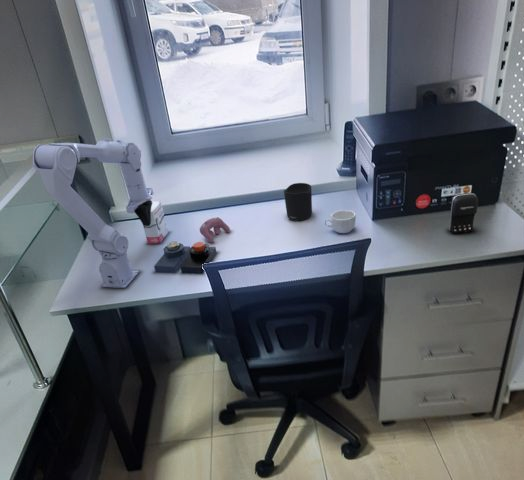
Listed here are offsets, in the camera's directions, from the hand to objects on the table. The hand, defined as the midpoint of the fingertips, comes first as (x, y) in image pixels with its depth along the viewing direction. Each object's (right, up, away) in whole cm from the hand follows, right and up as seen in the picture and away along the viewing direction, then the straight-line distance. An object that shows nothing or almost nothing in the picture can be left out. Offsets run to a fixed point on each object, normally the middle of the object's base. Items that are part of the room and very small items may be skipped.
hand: (147, 224), depth 160 cm
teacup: (+63, -1, +3) cm, 63 cm away
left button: (+9, -8, -1) cm, 12 cm away
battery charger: (+98, -4, -8) cm, 98 cm away
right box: (+17, -13, -2) cm, 21 cm away
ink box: (0, -1, +16) cm, 16 cm away
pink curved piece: (+21, -1, +11) cm, 24 cm away
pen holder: (+50, +7, +16) cm, 53 cm away
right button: (+17, -9, -3) cm, 19 cm away
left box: (+9, -12, 0) cm, 15 cm away
